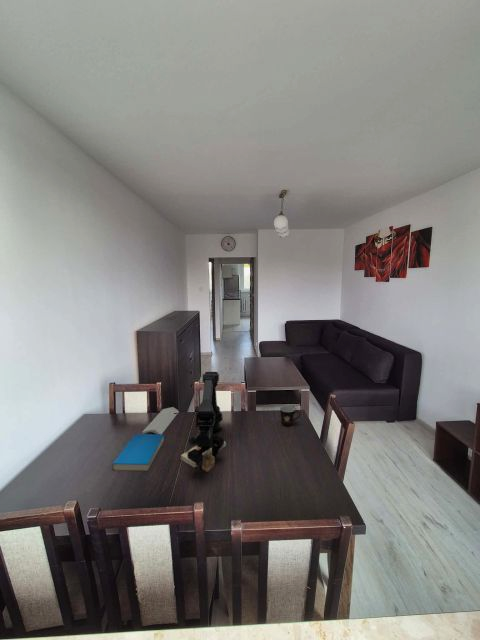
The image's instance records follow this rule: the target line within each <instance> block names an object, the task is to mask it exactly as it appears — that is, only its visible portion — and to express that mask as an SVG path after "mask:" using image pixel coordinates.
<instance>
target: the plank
mask: <svg viewBox="0 0 480 640" xmlns="http://www.w3.org/2000/svg"><path fill="white" fill-rule="evenodd" d="M226 445H227V442H226V441H225V440H224V444H223V445H222V447H221V449H220V450H219V452H220V451H221V450H223V449H224V448H225V447H226ZM197 448H198V447H197V445H194V446H193V447H191V448H190V449H189V450H187V451H185V452H184V453H182V454H181V455H180V460H181V461H182V462H184V463H186V464H188V465H189V466H191V467H192V468H194V467H196V468H198V467H197V464H196V463H195V462H194V461H192V460H190V459H188V453H189V452H190V451H192V450H193V449H197ZM200 449H201V448H200ZM200 449H199V450H200ZM206 453H208V454H210V455H212V448H210V449H209V450H208V451H206V452H205V453H203V454H202V455H204V454H206Z"/></svg>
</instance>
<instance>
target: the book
mask: <svg viewBox="0 0 480 640" xmlns="http://www.w3.org/2000/svg"><path fill="white" fill-rule="evenodd" d="M164 437H165V433H164V434H163V433H162V434H155V433H153V434H152V433H151V434H150V433H146V434H143V433H138V434H137V433H135V434H134V435H133V436H132V437H131V439H130V440H129V442H128V443H126V445H125V447H124V448H123V449H122V451H120V453H119V455H118V457H117V458H116V459H115V460H114V461H113V463H112V470H113V471H145V472H146V471H147V472H148V471H149V469H150V467H151V466H152V463H153V461H154V459H155V458H156V456H157V454H158V452H159V450H160V448H161V447H162V445H163V443H164V441H165V438H164Z"/></svg>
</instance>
